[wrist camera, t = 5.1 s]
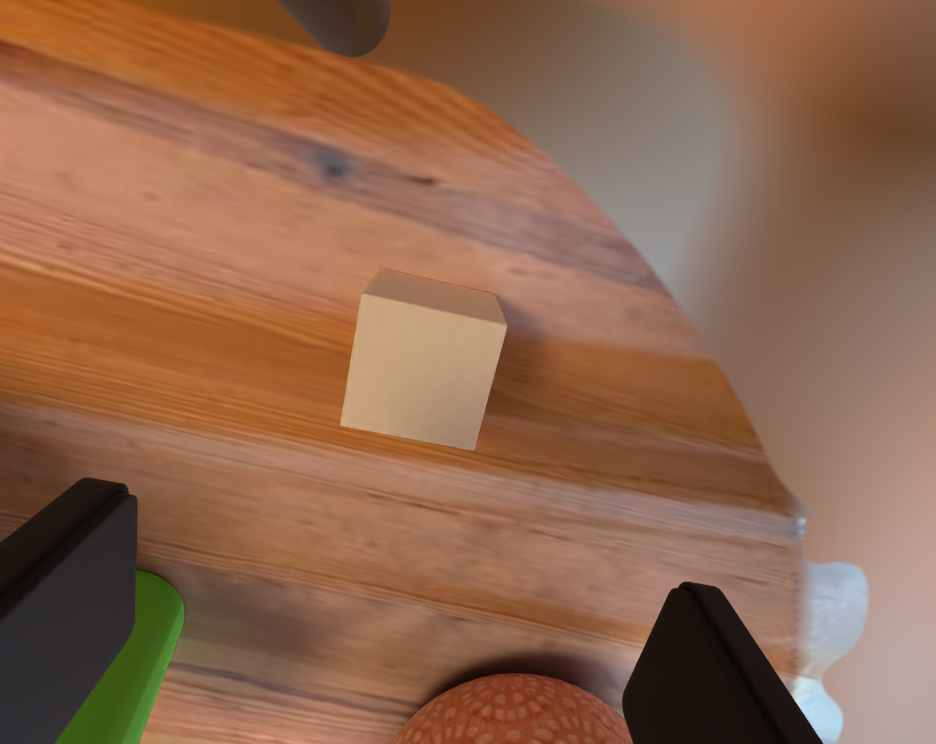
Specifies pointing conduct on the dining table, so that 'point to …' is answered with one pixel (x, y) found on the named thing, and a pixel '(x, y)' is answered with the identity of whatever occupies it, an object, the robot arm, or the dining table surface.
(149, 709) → the cup
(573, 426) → the dining table surface
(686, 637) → the robot arm
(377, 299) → the block
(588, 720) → the planter
